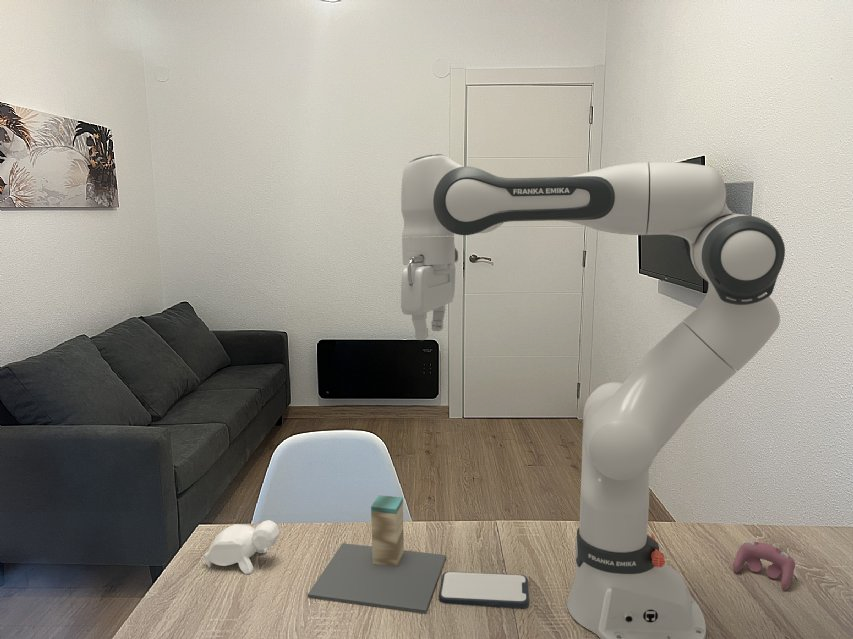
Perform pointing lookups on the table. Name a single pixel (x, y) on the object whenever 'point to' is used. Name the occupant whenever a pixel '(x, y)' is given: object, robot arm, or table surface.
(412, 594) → the rubber mat
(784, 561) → the video game controller
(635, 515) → the robot arm
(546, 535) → the table surface
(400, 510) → the birch block
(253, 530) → the white tortoise figurine
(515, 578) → the smartphone
